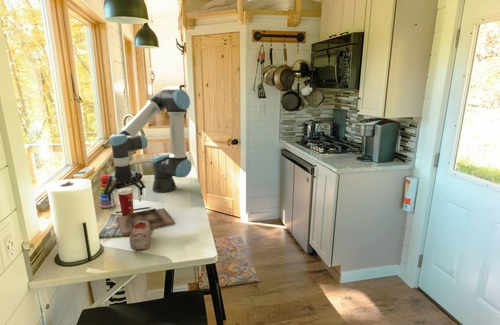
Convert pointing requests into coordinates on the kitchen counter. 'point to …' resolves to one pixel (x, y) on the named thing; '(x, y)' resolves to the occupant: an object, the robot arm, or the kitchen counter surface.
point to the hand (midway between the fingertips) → (126, 203)
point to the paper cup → (126, 200)
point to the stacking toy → (104, 198)
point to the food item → (140, 235)
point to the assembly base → (145, 219)
